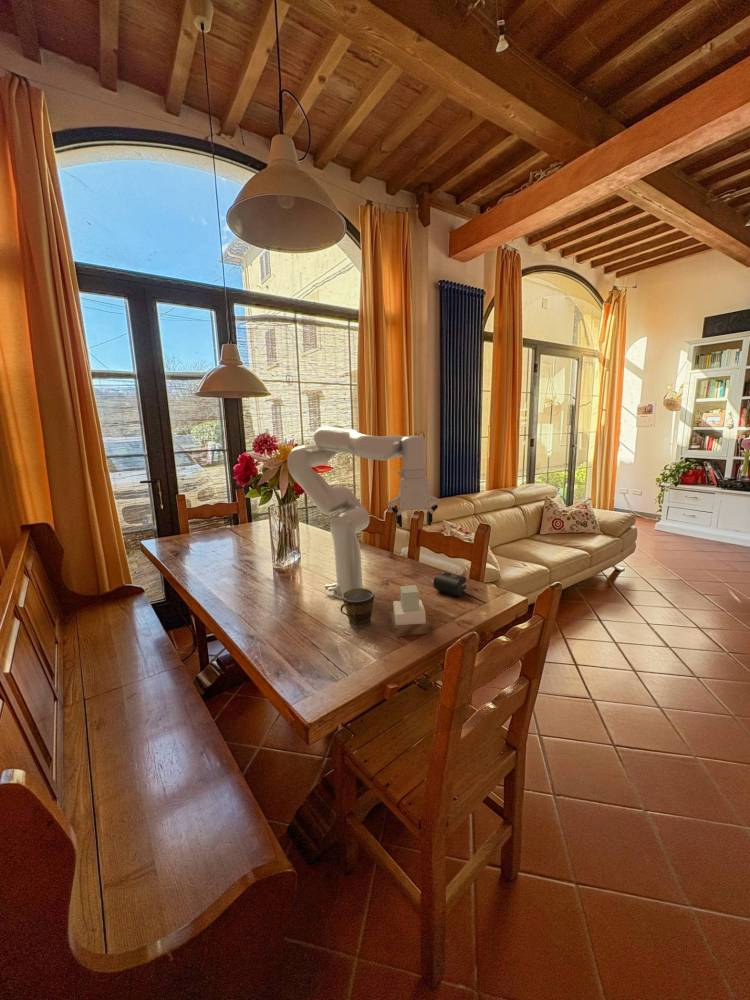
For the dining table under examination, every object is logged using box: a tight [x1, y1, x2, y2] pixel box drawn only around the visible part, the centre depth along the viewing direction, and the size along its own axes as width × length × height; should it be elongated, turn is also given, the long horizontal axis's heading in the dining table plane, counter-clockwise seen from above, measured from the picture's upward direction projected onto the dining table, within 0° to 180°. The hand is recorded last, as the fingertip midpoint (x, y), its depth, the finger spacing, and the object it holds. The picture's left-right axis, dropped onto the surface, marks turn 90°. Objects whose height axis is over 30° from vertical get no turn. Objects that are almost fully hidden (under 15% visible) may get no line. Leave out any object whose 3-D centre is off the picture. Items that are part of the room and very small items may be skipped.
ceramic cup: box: [340, 588, 375, 630], centre depth 127 cm, size 13×10×10 cm
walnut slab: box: [388, 610, 432, 638], centre depth 126 cm, size 11×11×4 cm
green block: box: [399, 584, 420, 612], centre depth 124 cm, size 5×5×6 cm
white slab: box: [392, 599, 427, 625], centre depth 126 cm, size 9×9×4 cm
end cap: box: [432, 572, 467, 598], centre depth 148 cm, size 10×7×7 cm
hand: (414, 525), depth 134 cm, fingers open, 9 cm apart
